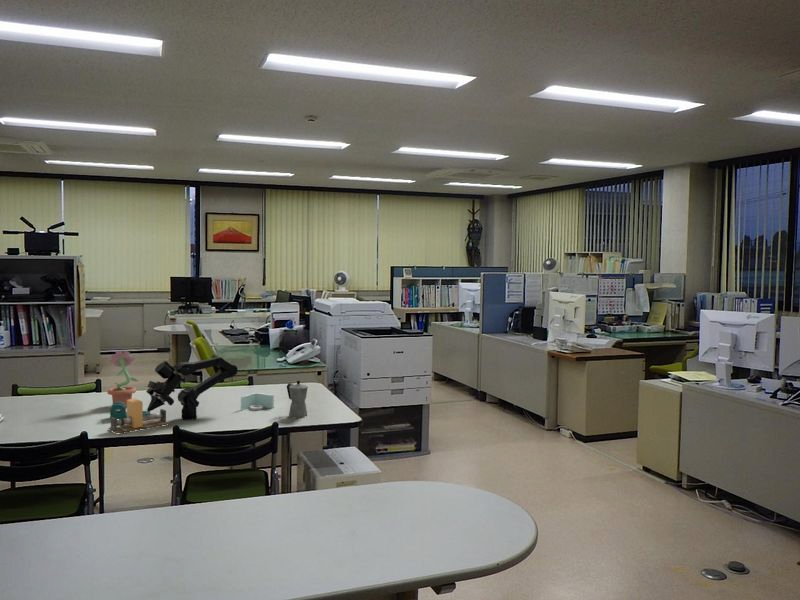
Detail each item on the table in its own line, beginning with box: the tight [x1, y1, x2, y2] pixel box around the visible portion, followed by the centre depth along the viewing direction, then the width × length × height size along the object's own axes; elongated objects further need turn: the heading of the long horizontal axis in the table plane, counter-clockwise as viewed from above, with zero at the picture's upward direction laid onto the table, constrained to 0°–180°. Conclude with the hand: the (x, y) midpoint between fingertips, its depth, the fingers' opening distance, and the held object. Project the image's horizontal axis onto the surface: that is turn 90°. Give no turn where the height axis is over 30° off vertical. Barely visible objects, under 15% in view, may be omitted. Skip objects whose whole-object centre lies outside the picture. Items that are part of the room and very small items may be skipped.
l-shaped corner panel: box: [240, 392, 275, 411], centre depth 330 cm, size 12×12×8 cm
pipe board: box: [107, 408, 170, 434], centre depth 292 cm, size 24×10×6 cm, turn 135°
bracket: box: [109, 402, 151, 420], centre depth 309 cm, size 18×7×8 cm, turn 112°
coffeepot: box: [286, 380, 308, 419], centre depth 319 cm, size 15×9×18 cm, turn 49°
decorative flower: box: [107, 350, 139, 408], centre depth 328 cm, size 15×14×30 cm
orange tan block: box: [126, 398, 144, 428], centre depth 290 cm, size 4×8×12 cm, turn 45°
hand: (147, 411), depth 294 cm, fingers closed
